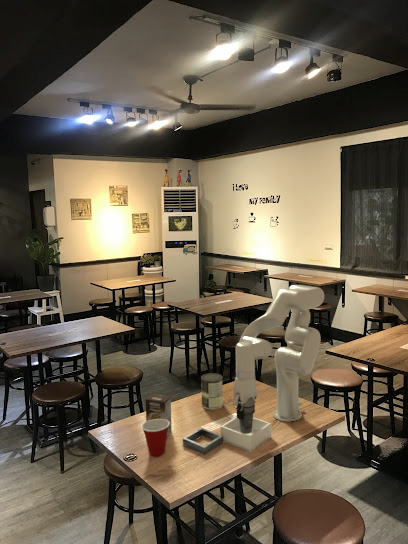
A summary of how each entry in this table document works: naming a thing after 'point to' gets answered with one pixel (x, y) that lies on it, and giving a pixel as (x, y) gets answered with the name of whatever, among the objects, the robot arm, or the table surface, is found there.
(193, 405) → the table surface
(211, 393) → the coffee can
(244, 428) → the beverage cup
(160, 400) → the coffee box
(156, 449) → the plastic cup
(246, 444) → the bin
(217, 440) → the holder
